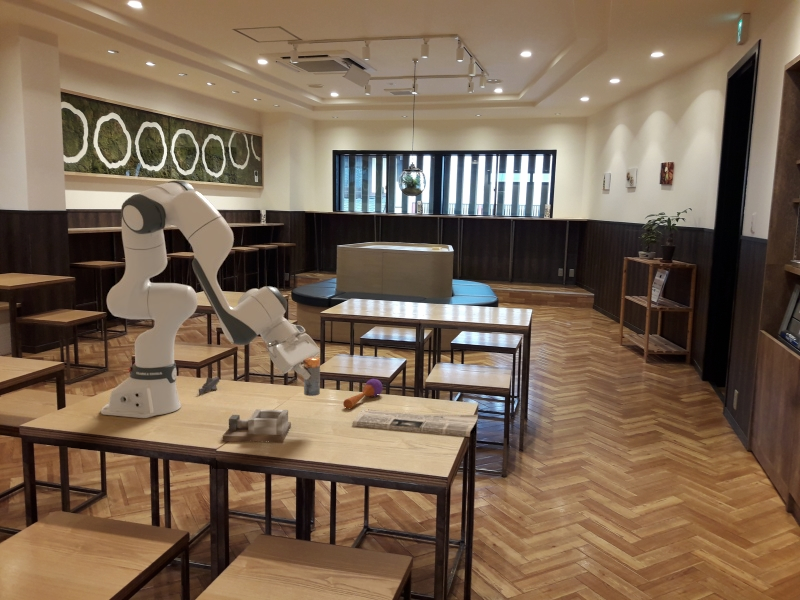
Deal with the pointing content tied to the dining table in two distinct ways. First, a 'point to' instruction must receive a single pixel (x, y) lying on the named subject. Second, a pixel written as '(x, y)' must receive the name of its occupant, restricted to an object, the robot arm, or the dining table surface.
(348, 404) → the kendama
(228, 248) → the robot arm
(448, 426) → the newspaper
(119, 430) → the dining table surface
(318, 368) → the orange topped cylinder
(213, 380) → the animal figurine
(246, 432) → the shaft base
